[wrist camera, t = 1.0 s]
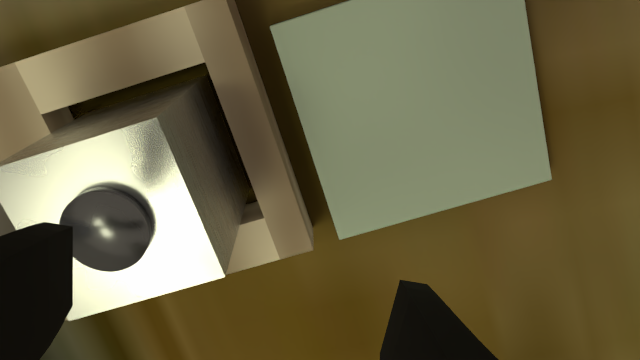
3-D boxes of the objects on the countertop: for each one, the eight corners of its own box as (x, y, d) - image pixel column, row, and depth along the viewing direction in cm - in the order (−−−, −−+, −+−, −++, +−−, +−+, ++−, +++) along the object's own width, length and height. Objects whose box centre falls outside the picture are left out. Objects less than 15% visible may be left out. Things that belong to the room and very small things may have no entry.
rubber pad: (338, 231, 22) (339, 239, 21) (271, 25, 19) (269, 26, 18) (543, 173, 21) (551, 179, 21) (507, -52, 18) (516, -53, 18)
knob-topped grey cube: (139, 221, 22) (62, 329, 15) (87, 112, 20) (-27, 177, 13) (249, 189, 22) (223, 284, 15) (206, 74, 20) (152, 121, 13)
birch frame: (59, 300, 23) (36, 329, 21) (-62, 89, 20) (-103, 100, 18) (313, 227, 22) (313, 251, 20) (232, -8, 19) (223, -7, 17)
